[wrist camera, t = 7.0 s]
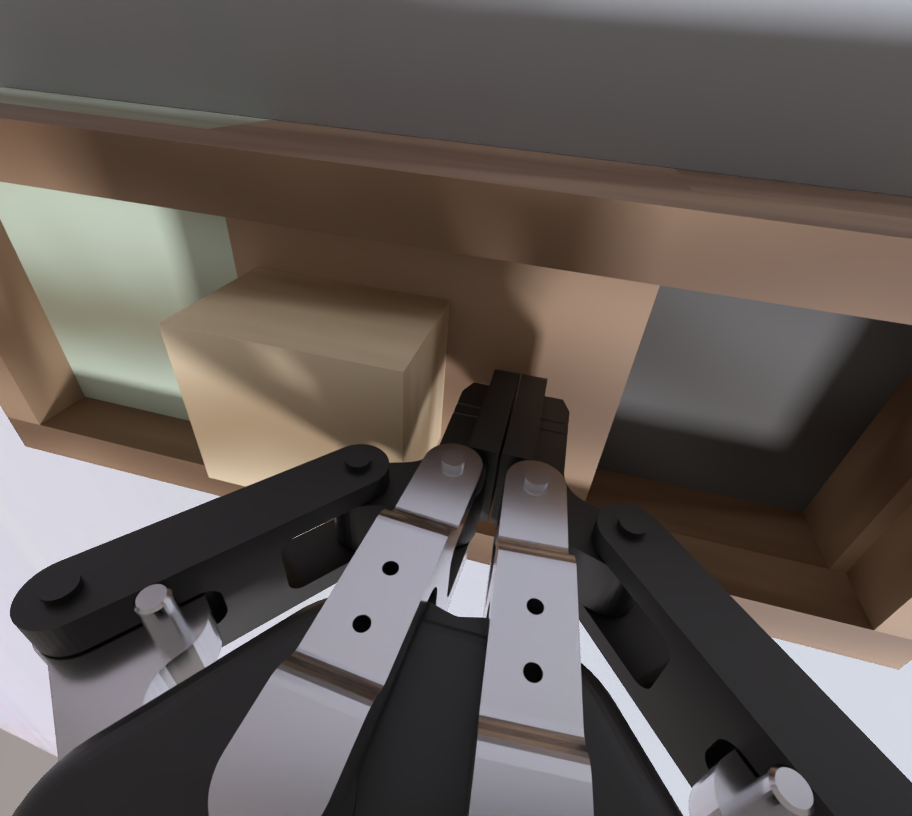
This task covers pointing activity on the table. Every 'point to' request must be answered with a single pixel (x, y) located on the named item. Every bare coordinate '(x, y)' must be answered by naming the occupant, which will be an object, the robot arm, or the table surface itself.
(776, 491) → the box
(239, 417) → the beech block
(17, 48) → the table surface
